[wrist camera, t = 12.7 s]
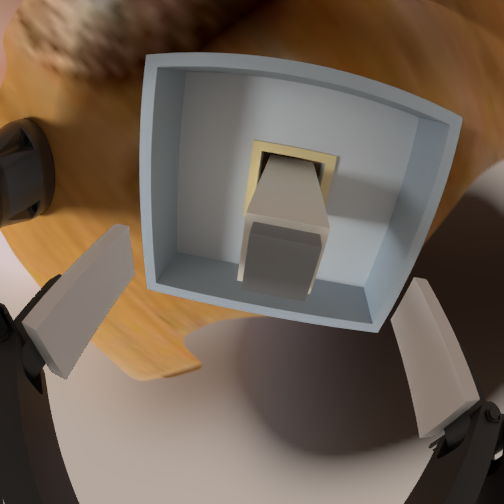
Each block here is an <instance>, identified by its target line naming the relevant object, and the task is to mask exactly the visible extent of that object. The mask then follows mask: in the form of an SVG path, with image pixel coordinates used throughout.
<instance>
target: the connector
mask: <svg viewBox="0 0 504 504" xmlns="http://www.w3.org/2000/svg"><path fill="white" fill-rule="evenodd" d="M329 232H330V225H329V221H328V216H327V212H326V208H325V204H324V200H323V197H322V193H321V189H320V185H319V182H318V178H317V174H316V171H315V167H314V164H313V162H308V161H303V160H298V159H293V158H288V157H282V156H277V155H270V157H269V159H268V162H267V164H266V166H265V169H264V171H263V173H262V176H261V178H260V180H259V183H258V185H257V187H256V190H255V192H254V194H253V197H252V199H251V202H250V204H249V206H248V209H247V211H246V216H245V223H244V231H243V238H242V246H241V254H240V261H239V269H238V277H237V281H242V288H241V290H243V291H248V292H253V293H258V294H264V295H269V296H274V297H280V298H285V299H291V300H296V301H302V302H305V300H306V297H307V294H310V293H311V290H312V287H313V284H314V280H315V277H316V274H317V271H318V268H319V265H320V262H321V259H322V255H323V252H324V249H325V245H326V242H327V239H328V235H329Z"/></svg>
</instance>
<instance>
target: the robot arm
mask: <svg viewBox="0 0 504 504" xmlns="http://www.w3.org/2000/svg"><path fill="white" fill-rule="evenodd" d="M54 183H55V175H54V164H53V159H52V154H51V151H50V148H49V145H48V142H47V140H46V138H45V136H44V134H43V132H42V131H41V129H40V128H39V127H38V126H37V125H36V124H35V123H34V122H32V121H30V120H28V119H20V120H16V121H13V122H10V123H8V124H6V125H4V126H3V127H2V128H1V129H0V228H1V227H3V226H7V225H12V224H16V223H20V222H24V221H29V220H32V219H34V218H35V217H37V216H38V215H40V214H41V213H43V212H44V211H45V210H46V209H47V208H48V206H49V204H50V202H51V200H52V196H53V192H54ZM134 275H135V272H134V265H133V257H132V249H131V240H130V230H129V226H127V225H121V224H114V225H113V226H112V227H111V228H110V229H109V230H108V231H107V232H106V233H104V234H103V235H102V236H101V237H100V238H99V239H98V240H97V241H96V242H95V243H94V244H93V245H92V246H91V247H90V248H89V249H88V250H87V251H86V252H85V253H84V254H83V255H82V256H81V257H80V258H79V259H78V260H77V261H76V262H75V263H74V264H73V265H72V266H71V267H70V268H69V269H68V270H67V271H66V272H65V273H64V274H63V275H60V274H59V275H57V276H55V277H54V278H52V279H50V280H49V281H48V282H47V283H46V284H45V285H44V286H43V287H42V288H41V291H39V292H38V293H37V294H36V295H35V297H33V298H32V299H31V301H30V302H29V303H28V304H27V306H25V308H24V309H23V310H22V311H21V312H20V314H19V315H18V316H17V317H16V318H15V320H14V321H13V319H12V317H11V316H10V314H9V312H8V310H7V308H6V307H5V305H4V304H1V303H0V504H3V500H4V503H5V504H79V502H78V500H77V497H76V495H75V492H74V490H73V487H72V484H71V482H70V479H69V476H68V473H67V471H66V468H65V464H64V461H63V458H62V455H61V451H60V448H59V444H58V440H57V437H56V433H55V428H54V424H53V419H52V415H51V410H50V404H49V399H48V393H47V386H46V379H45V373H44V370H43V366H44V365H45V364H47V366H48V367H49V369H50V370H51V372H52V373H54V374H56V375H58V376H60V377H62V378H64V379H67V378H68V375H69V374H70V372H71V371H72V369H73V367H74V366H75V364H76V362H77V361H78V359H79V357H80V356H81V354H82V352H83V350H84V349H85V347H86V346H87V344H88V343H89V341H90V340H91V338H92V336H93V335H94V333H95V332H96V330H97V329H98V327H99V326H100V324H101V323H102V321H103V320H104V318H105V317H106V315H107V314H108V312H109V311H110V309H111V308H112V306H113V305H114V303H115V302H116V300H117V299H118V298H119V296H120V295H121V293H122V292H123V290H124V289H125V288H126V286H127V285H128V283H129V282H130V281H131V279H132V278H133V276H134ZM391 322H392V325H393V329H394V332H395V335H396V338H397V342H398V345H399V349H400V352H401V355H402V359H403V363H404V366H405V370H406V374H407V378H408V383H409V387H410V391H411V395H412V399H413V404H414V409H415V414H416V419H417V424H418V430H419V436H420V438H424V437H430V436H435V435H436V434H437V433H439V432H440V431H442V430H443V429H444V431H445V435H443V436H442V437H440V438H439V439H437V440H436V441H434V442H433V443H431V444H430V446H429V448H432V447H433V446H435V445H436V444H437V446H436V448H434V449H433V451H434V453H433V455H432V457H431V459H430V460H429V462H428V464H427V466H426V468H425V470H424V472H423V473H422V476H421V477H420V479H419V480H418V482H417V484H416V485H415V487H414V489H413V491H412V492H411V493H410V495H409V497H408V498H407V500H406V501H405V503H404V504H504V414H501V413H500V410H499V408H498V407H497V406H496V405H495V404H494V403H493V402H486V400H485V397H484V394H483V391H482V388H481V385H480V383H479V380H478V377H477V375H476V373H475V372H474V371H475V370H474V367H473V365H472V364H471V363H472V362H471V360H470V358H469V355H468V353H467V351H466V350H465V349H464V347H463V346H462V345H461V344H459V343H458V341H457V339H456V336H455V335H454V332H453V330H452V328H451V326H450V324H449V321H448V319H447V317H446V315H445V314H444V311H443V309H442V307H441V306H440V304H439V302H438V300H437V298H436V296H435V294H434V292H433V290H432V288H431V287H430V285H429V283H428V281H427V280H426V279H421V278H416V277H414V278H413V280H412V282H411V284H410V286H409V288H408V290H407V292H406V294H405V295H404V297H403V299H402V301H401V303H400V304H399V306H398V308H397V310H396V312H395V313H394V315H393V317H392V318H391ZM501 450H503V454H502V456H501V457H500V458H498V459H496V460H495V459H494V455H495V454H497V453H498V452H500V451H501Z"/></svg>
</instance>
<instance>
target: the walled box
mask: <svg viewBox="0 0 504 504" xmlns="http://www.w3.org/2000/svg"><path fill="white" fill-rule="evenodd" d="M462 121H463V117H461V116H459V115H457V114H455V113H453V112H451V111H449V110H447V109H445V108H443V107H441V106H439V105H437V104H435V103H432V102H430V101H428V100H426V99H423V98H421V97H419V96H416V95H414V94H411V93H409V92H406V91H404V90H401V89H398V88H396V87H393V86H390V85H387V84H384V83H381V82H378V81H375V80H372V79H369V78H366V77H362V76H359V75H356V74H352V73H348V72H344V71H341V70H337V69H333V68H328V67H324V66H319V65H315V64H310V63H304V62H299V61H293V60H287V59H280V58H273V57H265V56H256V55H245V54H232V53H205V52H189V53H162V54H149V55H146V61H145V69H144V79H143V90H142V103H141V120H140V152H139V177H140V210H141V228H142V242H143V253H144V264H145V273H146V282H147V289H149V290H153V291H157V292H161V293H165V294H169V295H173V296H177V297H182V298H186V299H190V300H194V301H199V302H203V303H208V304H212V305H217V306H221V307H226V308H231V309H236V310H241V311H246V312H251V313H256V314H261V315H266V316H272V317H277V318H283V319H289V320H294V321H300V322H306V323H312V324H319V325H325V326H332V327H339V328H346V329H353V330H361V331H369V332H377V333H378V331H379V329H380V328H381V326H382V324H383V323H384V321H385V319H386V318H387V316H388V314H389V312H390V310H391V309H392V307H393V305H394V303H395V301H396V299H397V297H398V296H399V294H400V292H401V290H402V288H403V286H404V284H405V282H406V280H407V278H408V276H409V274H410V272H411V270H412V268H413V266H414V263H415V261H416V259H417V257H418V255H419V253H420V250H421V248H422V246H423V243H424V241H425V239H426V236H427V234H428V231H429V229H430V226H431V224H432V221H433V219H434V216H435V213H436V211H437V208H438V205H439V203H440V200H441V197H442V194H443V191H444V188H445V185H446V182H447V179H448V175H449V172H450V169H451V165H452V162H453V158H454V154H455V151H456V147H457V143H458V139H459V134H460V130H461V125H462ZM264 151H265V152H271V153H276V154H282V155H287V156H293V157H298V158H303V159H308V160H312V161H317V162H321V167H320V172H319V176H318V182H319V185H320V189H321V193H322V197H323V200H324V204H325V208H326V212H327V216H328V221H329V225H330V232H329V235H328V239H327V242H326V245H325V249H324V252H323V255H322V259H321V262H320V265H319V268H318V271H317V274H316V277H315V280H314V284H313V287H312V290H311V293H310V294H307V297H306V300H305V302H302V301H296V300H291V299H285V298H280V297H274V296H269V295H264V294H258V293H253V292H248V291H243V290H241V288H242V281H237V277H238V269H239V261H240V254H241V246H242V238H243V231H244V223H245V216H246V211H247V209H248V206H249V204H250V202H251V199H252V197H253V194H254V192H255V190H256V187H257V185H258V183H259V180H260V175H261V169H262V162H263V156H264Z"/></svg>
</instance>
